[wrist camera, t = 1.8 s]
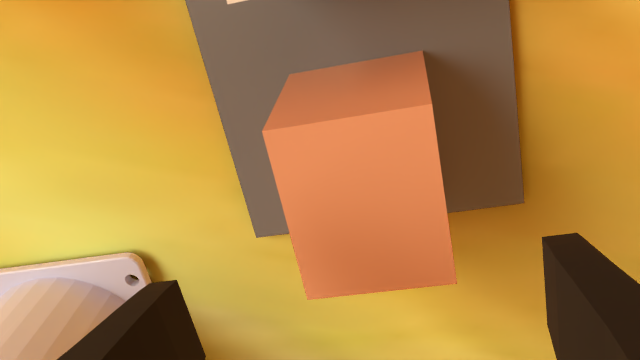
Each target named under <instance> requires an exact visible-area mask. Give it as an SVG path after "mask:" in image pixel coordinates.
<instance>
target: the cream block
mask: <svg viewBox="0 0 640 360" xmlns="http://www.w3.org/2000/svg"><path fill="white" fill-rule="evenodd" d="M226 1H227V4H232V3H237V2H242V1H247V0H226Z"/></svg>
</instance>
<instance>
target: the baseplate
mask: <svg viewBox="0 0 640 360" xmlns="http://www.w3.org/2000/svg"><path fill="white" fill-rule="evenodd" d="M185 1H186V5H187V8H188V11H189V15H190V18H191V21H192V25H193V28H194V31H195V35H196V38H197V41H198V45H199V48H200V51H201V55H202V58H203V61H204V65H205V68H206V71H207V75H208V78H209V81H210V85H211V88H212V91H213V95H214V98H215V101H216V105H217V108H218V111H219V115H220V118H221V121H222V125H223V128H224V131H225V135H226V138H227V141H228V145H229V148H230V151H231V155H232V158H233V161H234V165H235V168H236V171H237V175H238V178H239V181H240V185H241V188H242V191H243V195H244V198H245V201H246V205H247V208H248V211H249V215H250V218H251V221H252V225H253V228H254V231H255V235H256V238H258V237H266V236H273V235H281V234H289V229H288V226H287V222H286V218H285V215H284V211H283V207H282V203H281V200H280V196H279V192H278V189H277V185H276V181H275V178H274V174H273V170H272V167H271V163H270V159H269V156H268V152H267V148H266V144H265V141H264V137H263V133H262V130H263V128H264V126H265V124H266V122H267V120H268V118H269V116H270V114H271V112H272V110H273V108H274V105H275V103H276V101H277V99H278V97H279V95H280V93H281V91H282V89H283V87H284V85H285V83H286V81H287V79H288V76H289V74H294V73H300V72H305V71H311V70H316V69H322V68H328V67H333V66H339V65H344V64H350V63H356V62H361V61H367V60H372V59H378V58H384V57H389V56H395V55H400V54H406V53H412V52H417V51H423V56H424V61H425V67H426V73H427V78H428V84H429V90H430V95H431V101H432V107H433V115H434V122H435V129H436V136H437V143H438V150H439V158H440V165H441V172H442V179H443V186H444V194H445V201H446V208H447V213H451V212H459V211H466V210H474V209H482V208H490V207H497V206H505V205H513V204H520V203H524V193H523V180H522V167H521V154H520V141H519V127H518V114H517V101H516V88H515V75H514V61H513V48H512V35H511V22H510V9H509V0H247V1H242V2H237V3H232V4H227V1H226V0H185Z"/></svg>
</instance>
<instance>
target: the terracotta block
mask: <svg viewBox="0 0 640 360" xmlns="http://www.w3.org/2000/svg"><path fill="white" fill-rule="evenodd" d="M262 133H263V137H264V141H265V144H266V148H267V152H268V156H269V159H270V163H271V167H272V170H273V174H274V178H275V181H276V185H277V189H278V192H279V196H280V200H281V203H282V207H283V211H284V215H285V218H286V222H287V226H288V229H289V233H290V237H291V240H292V244H293V248H294V251H295V255H296V259H297V262H298V266H299V270H300V273H301V277H302V281H303V285H304V288H305V292H306V296H307V299H308V300H310V299H319V298H328V297H338V296H347V295H356V294H365V293H375V292H384V291H393V290H402V289H412V288H421V287H430V286H439V285H448V284H457V280H456V273H455V266H454V258H453V251H452V244H451V237H450V230H449V222H448V215H447V208H446V201H445V194H444V186H443V179H442V172H441V165H440V158H439V150H438V143H437V136H436V129H435V122H434V115H433V107H432V101H431V95H430V90H429V84H428V78H427V73H426V67H425V61H424V56H423V51H417V52H412V53H406V54H400V55H395V56H389V57H384V58H378V59H372V60H367V61H361V62H356V63H350V64H344V65H339V66H333V67H328V68H322V69H316V70H311V71H305V72H300V73H294V74H289V76H288V79H287V81H286V83H285V85H284V87H283V89H282V91H281V93H280V95H279V97H278V99H277V101H276V103H275V105H274V108H273V110H272V112H271V114H270V116H269V118H268V120H267V122H266V124H265V126H264V128H263V130H262Z"/></svg>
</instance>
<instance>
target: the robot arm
mask: <svg viewBox="0 0 640 360" xmlns="http://www.w3.org/2000/svg"><path fill="white" fill-rule="evenodd" d="M542 246H543V261H544V277H545V293H546V309H547V325H548V328H549V332H550V336H551V340H552V343H553V347H554V351H555V355H556V358H557V360H640V284H639V283H637V282H636V281H635V280H634V279H632V278H631V277H630V276H629V275H627V274H626V273H625V272H624V271H622V270H621V269H620V268H619V267H617V266H616V265H615V264H614V263H613V262H611V261H610V260H609V259H608V258H607V257H605V256H604V255H603V254H602V253H601V252H600V251H598V250H597V249H596V248H595V247H594V246H592V245H591V244H590V243H589V242H588V241H587V240H585V239H584V238H583V237H582V236H580V235H579V234H578V233H572V234H564V235H555V236H547V237H542ZM129 274H131V275H135V276H136V277H137V278H138V279H139V280H135V279H133V278H131V276H130V275H129ZM205 357H206V356H205V353H204V351H203V348H202V345H201V343H200V340H199V337H198V335H197V332H196V329H195V327H194V324H193V322H192V319H191V316H190V314H189V311H188V308H187V306H186V303H185V301H184V298H183V295H182V293H181V290H180V287H179V285H178V282H177V280H173V281H165V282H156V283H152V282H151V280H150V277H149V275H148V272H147V270H146V267H145V265H144V262H143V261H142V259H141V258H140V257H139V256H138V255H136V254H134V253H128V252H126V253H118V254H110V255H103V256H95V257H87V258H80V259H72V260H64V261H57V262H49V263H41V264H34V265H26V266H18V267H11V268H3V269H0V360H205Z"/></svg>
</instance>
